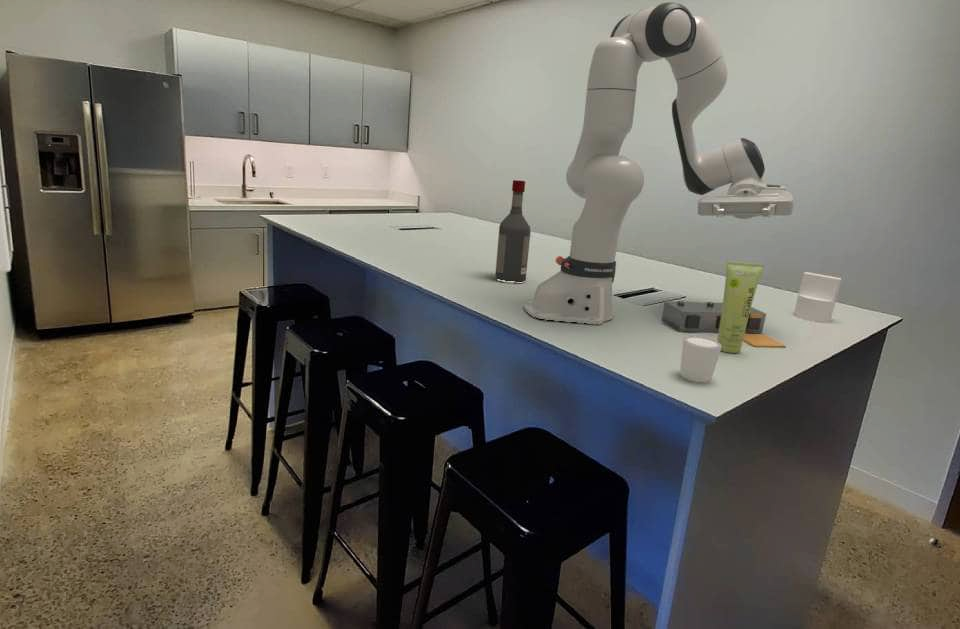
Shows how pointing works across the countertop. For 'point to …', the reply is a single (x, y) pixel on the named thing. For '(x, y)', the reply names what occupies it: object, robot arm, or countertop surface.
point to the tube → (737, 303)
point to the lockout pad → (761, 341)
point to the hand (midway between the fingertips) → (742, 213)
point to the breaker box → (704, 317)
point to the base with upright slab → (817, 297)
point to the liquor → (513, 240)
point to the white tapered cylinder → (699, 358)
